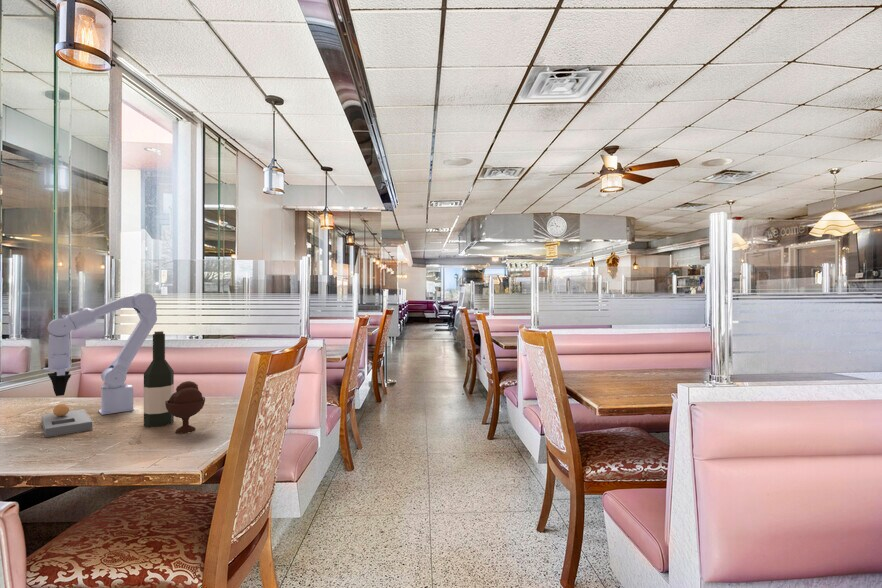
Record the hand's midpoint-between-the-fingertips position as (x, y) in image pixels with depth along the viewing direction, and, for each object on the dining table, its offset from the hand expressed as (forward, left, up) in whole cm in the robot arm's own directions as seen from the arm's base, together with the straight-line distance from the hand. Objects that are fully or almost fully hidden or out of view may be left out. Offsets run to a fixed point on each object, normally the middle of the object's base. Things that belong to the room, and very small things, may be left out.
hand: (59, 394), depth 152 cm
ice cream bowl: (-27, +45, -9) cm, 53 cm away
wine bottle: (-23, +30, -9) cm, 39 cm away
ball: (0, +8, -4) cm, 9 cm away
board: (-1, +12, -8) cm, 15 cm away
